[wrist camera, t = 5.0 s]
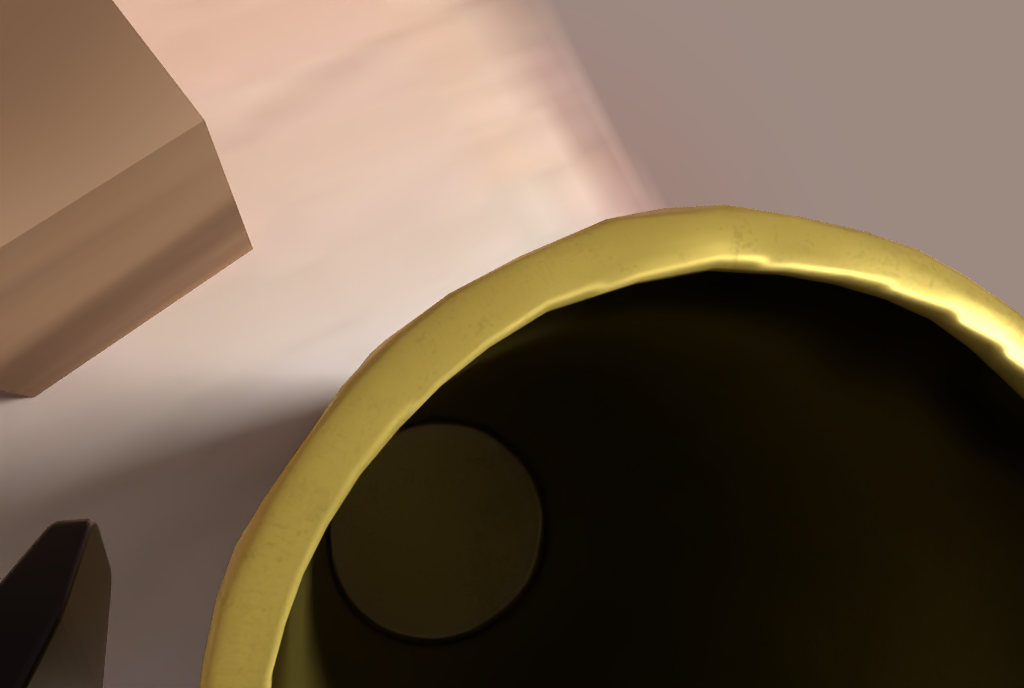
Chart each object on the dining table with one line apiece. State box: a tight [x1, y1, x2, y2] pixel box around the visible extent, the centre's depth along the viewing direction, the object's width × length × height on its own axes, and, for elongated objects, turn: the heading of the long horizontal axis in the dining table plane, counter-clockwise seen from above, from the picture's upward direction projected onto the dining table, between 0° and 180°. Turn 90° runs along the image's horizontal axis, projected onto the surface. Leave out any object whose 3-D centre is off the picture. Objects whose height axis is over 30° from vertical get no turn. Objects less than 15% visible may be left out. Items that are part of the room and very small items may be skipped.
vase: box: [199, 205, 1024, 688], centre depth 11 cm, size 6×6×14 cm
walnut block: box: [0, 0, 253, 397], centre depth 14 cm, size 5×5×7 cm
